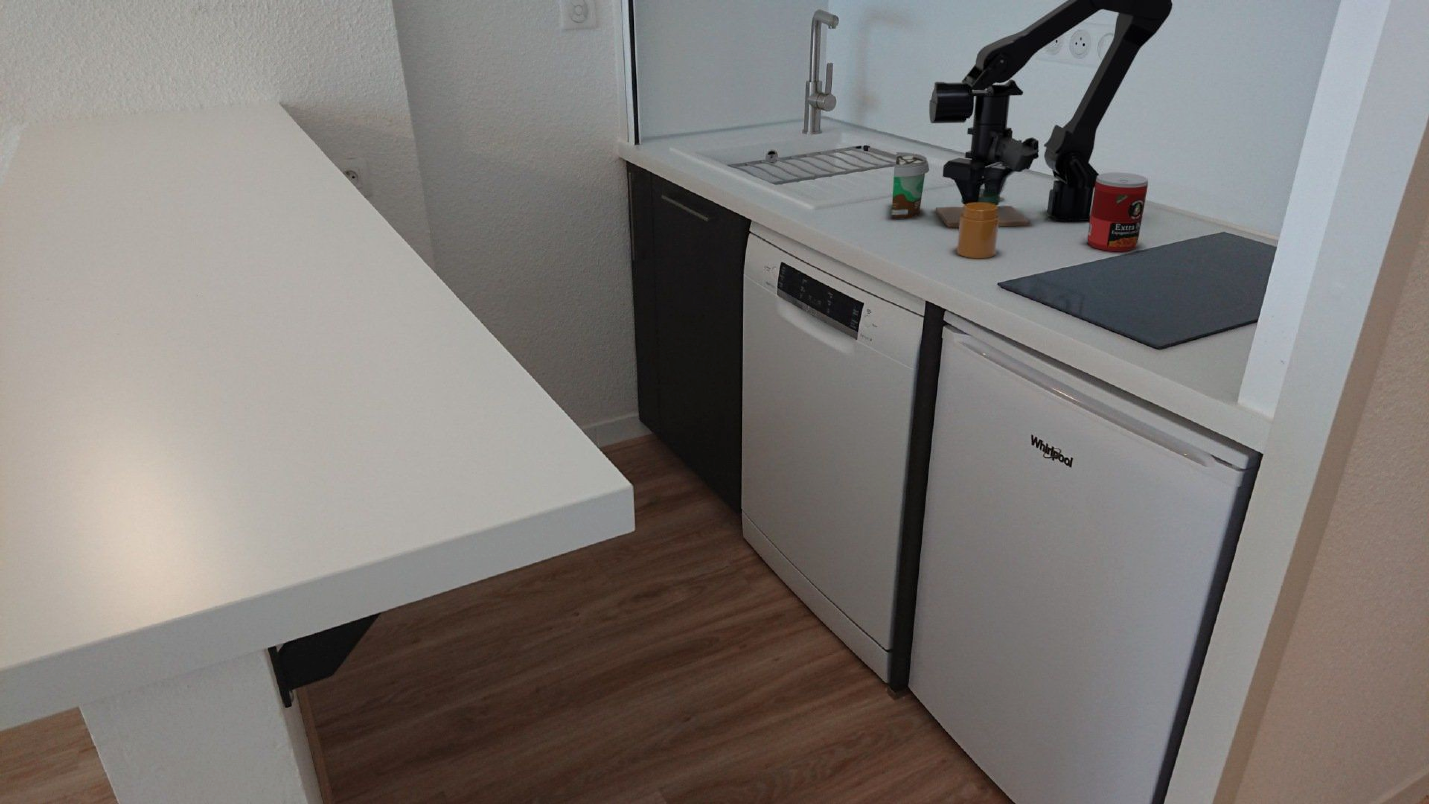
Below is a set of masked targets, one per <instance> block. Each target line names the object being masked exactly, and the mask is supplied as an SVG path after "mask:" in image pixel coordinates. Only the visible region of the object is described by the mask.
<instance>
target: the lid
mask: <svg viewBox="0 0 1429 804" xmlns="http://www.w3.org/2000/svg"><path fill="white" fill-rule="evenodd" d="M1000 199H1001V195H1000V193H999V192H998V191H995V190H991V189H980V193H979V198H978V202H983V203H990V204H994V205H996V206H999V204H1000V201H1001V200H1000ZM961 204H962V205H963V206H964V205H965V204H964V201H963V199H962V198H961Z"/></svg>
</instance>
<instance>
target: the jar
mask: <svg viewBox="0 0 1429 804" xmlns="http://www.w3.org/2000/svg"><path fill="white" fill-rule="evenodd" d="M997 206H998V205H997ZM997 206H996V205H994V204H990V203H983V202H974V203H968V204H965V205H964V204H963V205H962V207H963V214H961V215H960V224H959V227H958V236H957V245H956V253H957V254H958V255H960V256H962V257H965V258H970V259H987V258H992V257H994V256H995V255H996V253H997V252H996V250H997V242H998V233H999V226H998V224H999V216H998V215H997V213H998V210H997V209H998V207H997Z"/></svg>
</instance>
